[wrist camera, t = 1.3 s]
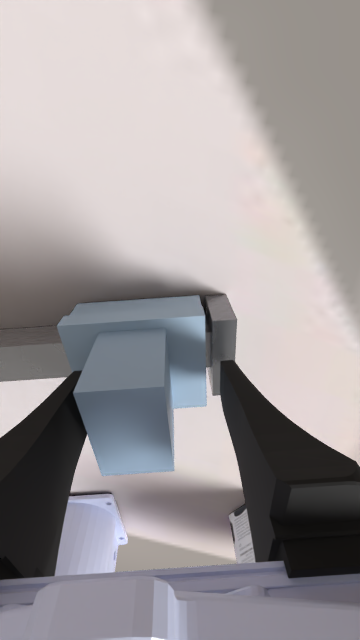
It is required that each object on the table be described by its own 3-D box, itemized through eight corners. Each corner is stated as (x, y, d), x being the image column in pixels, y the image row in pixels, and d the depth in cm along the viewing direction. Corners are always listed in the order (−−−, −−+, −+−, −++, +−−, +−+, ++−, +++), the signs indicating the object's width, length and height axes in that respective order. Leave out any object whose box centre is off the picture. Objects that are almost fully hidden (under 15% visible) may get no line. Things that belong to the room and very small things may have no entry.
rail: (224, 361, 18) (233, 394, 16) (-88, 383, 18) (-131, 419, 16) (225, 294, 16) (236, 319, 13) (-135, 319, 16) (-195, 349, 13)
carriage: (201, 372, 18) (217, 474, 12) (98, 379, 18) (62, 485, 12) (199, 290, 15) (218, 371, 9) (76, 299, 15) (13, 386, 9)
